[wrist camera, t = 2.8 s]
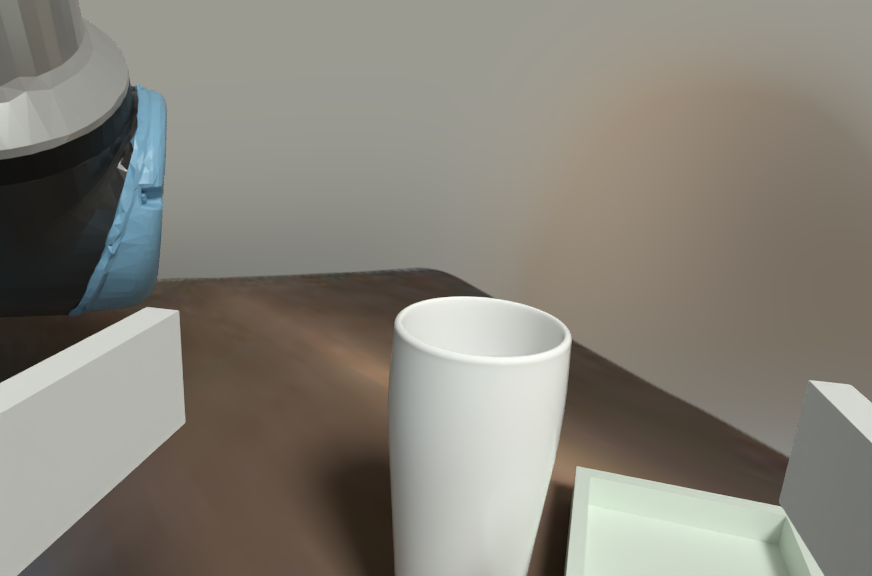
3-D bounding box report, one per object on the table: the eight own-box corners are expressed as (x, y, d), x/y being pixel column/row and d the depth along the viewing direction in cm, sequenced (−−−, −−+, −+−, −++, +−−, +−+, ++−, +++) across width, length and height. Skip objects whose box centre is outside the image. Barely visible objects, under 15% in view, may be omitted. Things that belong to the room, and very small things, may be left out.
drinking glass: (379, 581, 31) (393, 290, 27) (516, 584, 32) (552, 298, 27) (372, 709, 25) (389, 355, 20) (544, 711, 25) (597, 364, 21)
